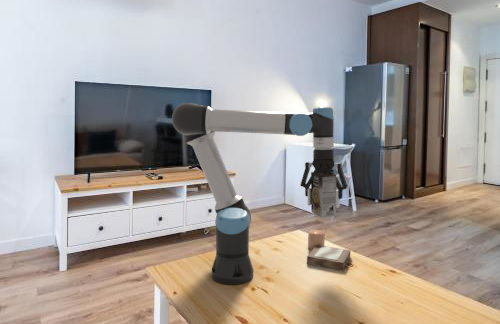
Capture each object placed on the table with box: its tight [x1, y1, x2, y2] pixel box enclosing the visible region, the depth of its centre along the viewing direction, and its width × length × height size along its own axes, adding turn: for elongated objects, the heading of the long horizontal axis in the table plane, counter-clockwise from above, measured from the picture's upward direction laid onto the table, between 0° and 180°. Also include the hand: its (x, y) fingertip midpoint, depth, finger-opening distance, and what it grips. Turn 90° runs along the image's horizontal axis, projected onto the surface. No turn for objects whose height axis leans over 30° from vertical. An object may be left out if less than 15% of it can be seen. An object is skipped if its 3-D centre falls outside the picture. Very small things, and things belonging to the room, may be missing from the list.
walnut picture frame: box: [306, 245, 351, 271], centre depth 142 cm, size 14×14×3 cm
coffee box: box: [310, 171, 337, 219], centre depth 137 cm, size 9×6×16 cm
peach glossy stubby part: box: [307, 229, 326, 251], centre depth 155 cm, size 7×7×7 cm
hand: (323, 205), depth 138 cm, fingers closed on coffee box, 10 cm apart
